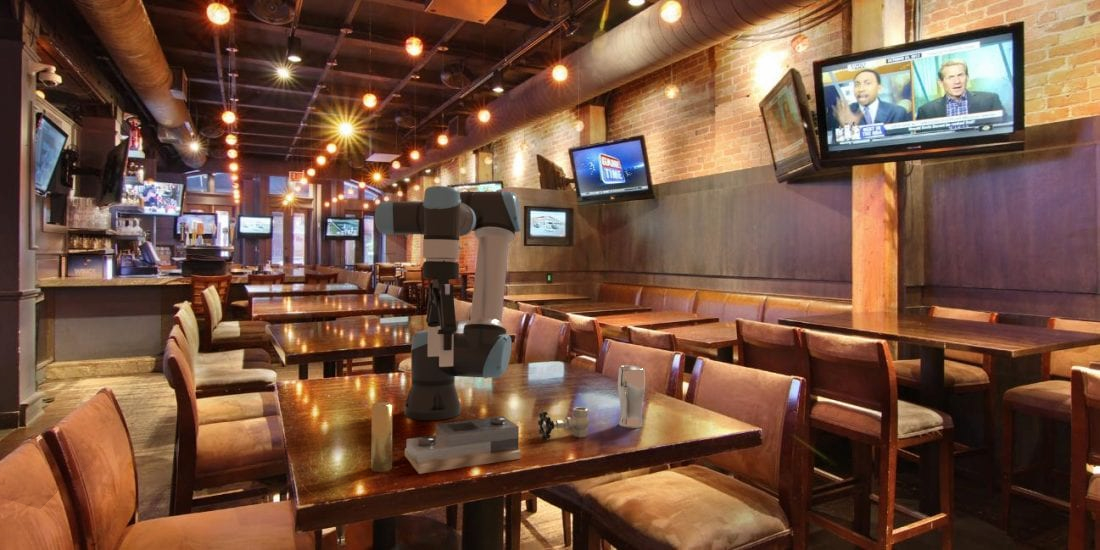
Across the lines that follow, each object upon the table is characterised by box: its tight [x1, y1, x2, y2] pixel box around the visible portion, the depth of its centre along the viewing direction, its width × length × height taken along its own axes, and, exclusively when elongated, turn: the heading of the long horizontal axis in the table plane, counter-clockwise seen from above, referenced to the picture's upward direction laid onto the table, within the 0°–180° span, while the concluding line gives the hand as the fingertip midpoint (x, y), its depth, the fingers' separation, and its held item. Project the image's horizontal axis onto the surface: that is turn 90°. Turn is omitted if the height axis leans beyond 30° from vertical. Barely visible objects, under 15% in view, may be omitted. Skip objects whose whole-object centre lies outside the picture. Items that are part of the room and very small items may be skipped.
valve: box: [537, 406, 590, 441], centre depth 143 cm, size 7×7×12 cm
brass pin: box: [370, 401, 393, 473], centre depth 120 cm, size 4×4×13 cm
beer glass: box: [617, 364, 646, 429], centre depth 154 cm, size 7×7×15 cm
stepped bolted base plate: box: [405, 415, 520, 464], centre depth 127 cm, size 22×9×6 cm, turn 117°
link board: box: [404, 448, 522, 475], centre depth 127 cm, size 22×12×2 cm, turn 117°
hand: (439, 361), depth 126 cm, fingers open, 13 cm apart
